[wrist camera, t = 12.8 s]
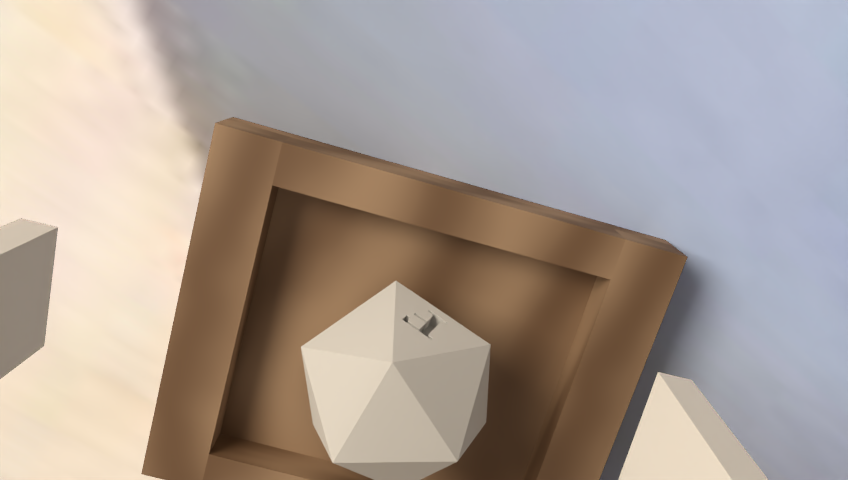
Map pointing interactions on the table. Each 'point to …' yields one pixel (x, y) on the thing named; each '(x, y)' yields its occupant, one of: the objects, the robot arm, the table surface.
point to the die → (397, 387)
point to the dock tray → (371, 273)
